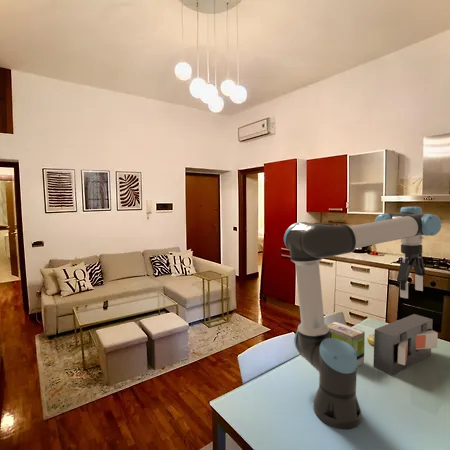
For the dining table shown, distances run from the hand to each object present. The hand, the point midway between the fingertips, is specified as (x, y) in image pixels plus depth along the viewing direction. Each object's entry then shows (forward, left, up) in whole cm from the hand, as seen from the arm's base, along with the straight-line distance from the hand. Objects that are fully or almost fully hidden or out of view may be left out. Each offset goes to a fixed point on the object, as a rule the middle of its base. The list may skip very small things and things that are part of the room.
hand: (411, 293), depth 120 cm
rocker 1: (-2, +1, -28) cm, 28 cm away
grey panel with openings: (+4, +8, -34) cm, 35 cm away
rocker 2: (+14, +8, -28) cm, 32 cm away
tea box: (-23, +12, -34) cm, 43 cm away
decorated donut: (+3, +24, -34) cm, 42 cm away
